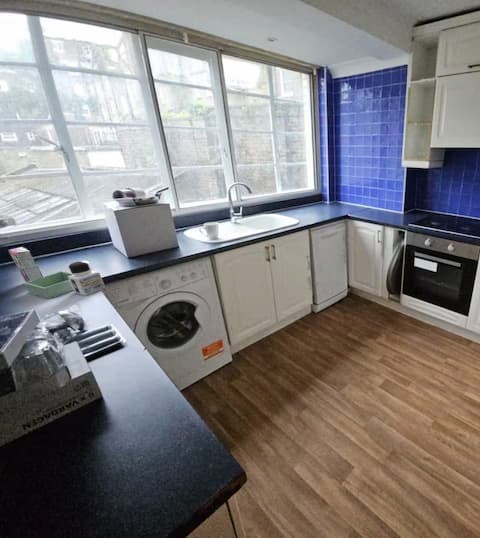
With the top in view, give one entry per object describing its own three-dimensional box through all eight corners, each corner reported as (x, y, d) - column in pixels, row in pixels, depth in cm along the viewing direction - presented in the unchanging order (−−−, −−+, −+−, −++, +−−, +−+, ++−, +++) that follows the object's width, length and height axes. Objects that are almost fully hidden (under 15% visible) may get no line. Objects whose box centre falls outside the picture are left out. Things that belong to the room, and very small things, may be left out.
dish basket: (49, 298, 121) (44, 288, 119) (28, 292, 126) (23, 282, 124) (86, 285, 132) (82, 275, 130) (66, 280, 138) (61, 271, 136)
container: (85, 295, 122) (72, 267, 117) (74, 293, 125) (61, 264, 120) (106, 287, 129) (94, 260, 124) (95, 285, 131) (83, 258, 126)
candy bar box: (25, 283, 136) (7, 249, 130) (39, 278, 140) (23, 246, 134) (32, 288, 131) (13, 253, 124) (47, 283, 135) (30, 250, 128)
